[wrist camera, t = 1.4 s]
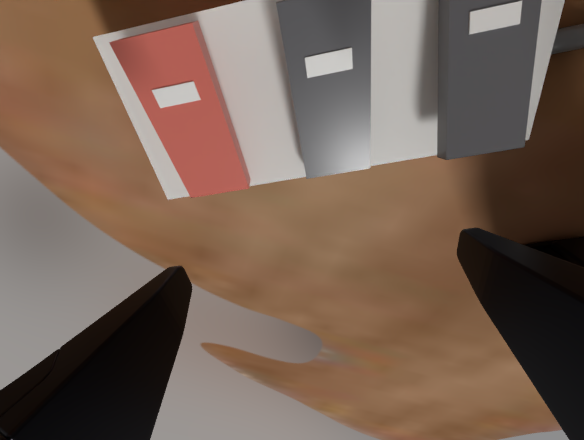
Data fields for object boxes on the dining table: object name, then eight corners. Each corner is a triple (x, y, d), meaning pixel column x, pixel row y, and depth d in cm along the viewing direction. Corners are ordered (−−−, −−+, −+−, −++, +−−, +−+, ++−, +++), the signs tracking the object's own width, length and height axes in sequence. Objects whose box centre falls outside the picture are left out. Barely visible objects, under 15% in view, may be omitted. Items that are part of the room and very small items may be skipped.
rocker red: (250, 179, 17) (248, 189, 16) (195, 188, 17) (190, 198, 16) (198, 20, 12) (191, 23, 11) (120, 38, 12) (108, 42, 11)
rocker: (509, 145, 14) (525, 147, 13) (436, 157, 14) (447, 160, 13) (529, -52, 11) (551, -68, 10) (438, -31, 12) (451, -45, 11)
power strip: (588, 111, 18) (638, 121, 15) (184, 181, 20) (168, 199, 18) (657, -86, 13) (747, -121, 10) (125, 40, 16) (92, 37, 13)
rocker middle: (366, 159, 16) (370, 168, 15) (305, 169, 16) (306, 179, 16) (365, -20, 11) (371, -20, 10) (276, 1, 11) (275, 3, 10)
